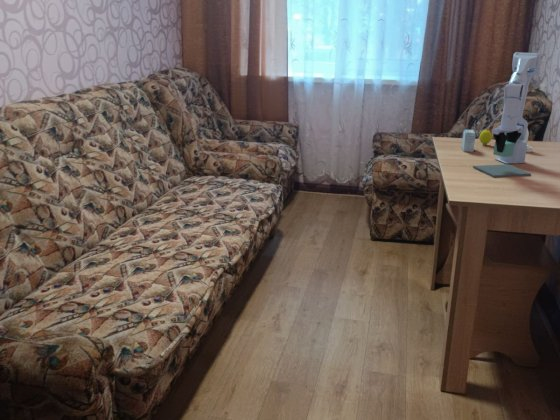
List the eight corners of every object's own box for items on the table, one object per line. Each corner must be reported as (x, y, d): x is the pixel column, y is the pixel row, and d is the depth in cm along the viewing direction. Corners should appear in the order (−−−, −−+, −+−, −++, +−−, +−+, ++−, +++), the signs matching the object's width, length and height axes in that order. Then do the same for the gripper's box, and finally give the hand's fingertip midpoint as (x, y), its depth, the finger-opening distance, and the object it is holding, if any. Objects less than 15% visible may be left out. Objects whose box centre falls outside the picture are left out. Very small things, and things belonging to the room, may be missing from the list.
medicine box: (473, 152, 240) (476, 133, 237) (463, 151, 241) (465, 132, 238) (471, 148, 247) (473, 129, 244) (461, 147, 248) (463, 129, 245)
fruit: (477, 145, 253) (480, 128, 250) (478, 143, 258) (481, 126, 255) (490, 146, 251) (492, 129, 248) (491, 144, 256) (493, 127, 253)
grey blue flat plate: (508, 166, 218) (508, 164, 217) (530, 175, 205) (531, 173, 204) (472, 167, 214) (473, 165, 214) (493, 177, 201) (493, 175, 201)
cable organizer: (532, 151, 243) (536, 130, 240) (510, 151, 243) (514, 129, 240) (527, 149, 248) (531, 127, 245) (505, 148, 248) (509, 127, 245)
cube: (501, 153, 211) (503, 140, 209) (512, 155, 207) (514, 142, 205) (493, 154, 208) (495, 141, 207) (504, 157, 204) (506, 144, 203)
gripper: (513, 113, 209) (508, 147, 213) (488, 115, 202) (483, 150, 206) (529, 115, 203) (523, 150, 208) (504, 118, 196) (498, 154, 201)
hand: (504, 151), depth 207 cm, fingers closed on cube, 5 cm apart
